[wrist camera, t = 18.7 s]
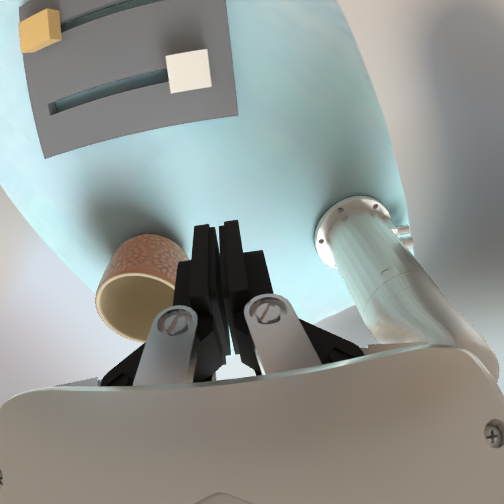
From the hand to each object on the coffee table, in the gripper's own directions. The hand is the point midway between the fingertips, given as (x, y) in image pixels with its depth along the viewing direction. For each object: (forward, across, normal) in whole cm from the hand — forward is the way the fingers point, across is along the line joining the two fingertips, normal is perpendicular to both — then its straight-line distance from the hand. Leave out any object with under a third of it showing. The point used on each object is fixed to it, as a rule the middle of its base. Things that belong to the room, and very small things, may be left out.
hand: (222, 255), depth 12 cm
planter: (+27, +12, +18) cm, 35 cm away
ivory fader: (+27, +2, -7) cm, 28 cm away
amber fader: (+27, +18, -17) cm, 37 cm away
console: (+27, +10, -12) cm, 31 cm away
